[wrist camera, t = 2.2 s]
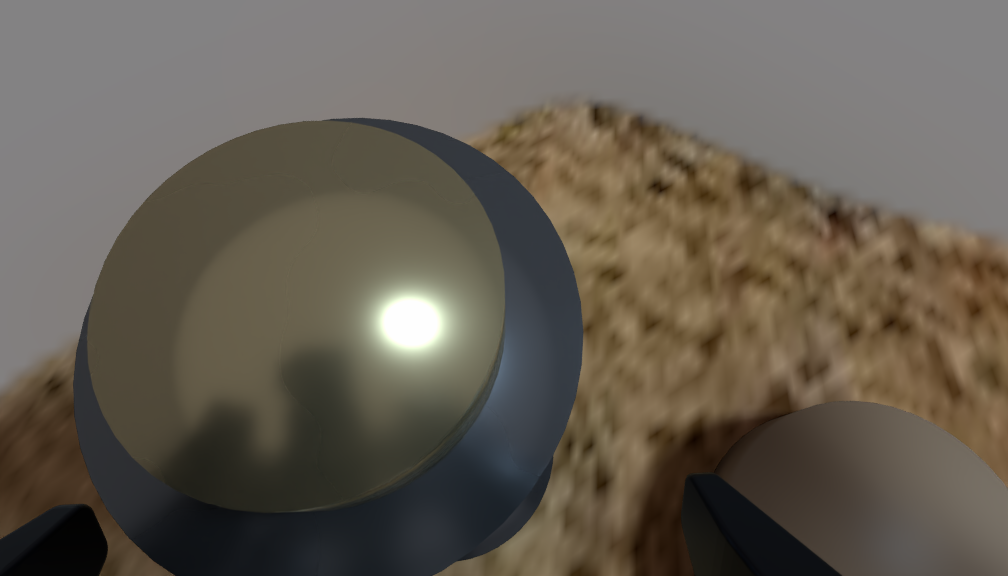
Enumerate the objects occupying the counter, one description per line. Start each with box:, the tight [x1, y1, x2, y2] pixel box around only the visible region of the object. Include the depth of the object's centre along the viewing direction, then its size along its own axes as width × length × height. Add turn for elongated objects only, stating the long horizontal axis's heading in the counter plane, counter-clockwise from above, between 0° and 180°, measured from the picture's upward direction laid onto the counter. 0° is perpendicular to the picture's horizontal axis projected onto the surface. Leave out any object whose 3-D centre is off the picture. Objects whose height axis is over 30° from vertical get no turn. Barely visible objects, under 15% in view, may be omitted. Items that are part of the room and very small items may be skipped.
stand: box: [714, 401, 1008, 576], centre depth 16 cm, size 8×8×2 cm
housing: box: [73, 118, 583, 576], centre depth 12 cm, size 6×6×14 cm
